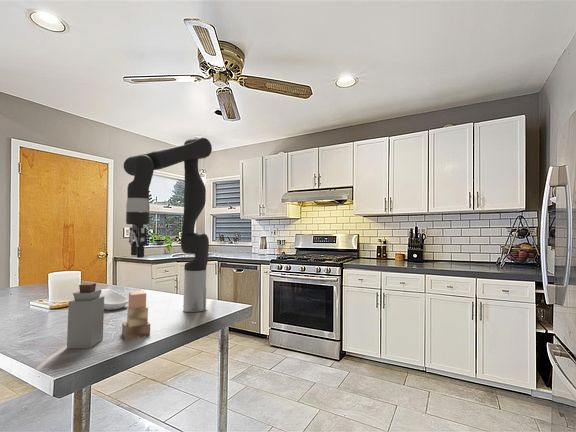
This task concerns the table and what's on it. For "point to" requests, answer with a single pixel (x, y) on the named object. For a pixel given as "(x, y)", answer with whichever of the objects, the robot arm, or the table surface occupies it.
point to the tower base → (135, 331)
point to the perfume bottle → (85, 317)
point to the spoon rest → (113, 299)
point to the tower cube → (137, 316)
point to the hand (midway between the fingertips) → (137, 256)
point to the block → (137, 300)
